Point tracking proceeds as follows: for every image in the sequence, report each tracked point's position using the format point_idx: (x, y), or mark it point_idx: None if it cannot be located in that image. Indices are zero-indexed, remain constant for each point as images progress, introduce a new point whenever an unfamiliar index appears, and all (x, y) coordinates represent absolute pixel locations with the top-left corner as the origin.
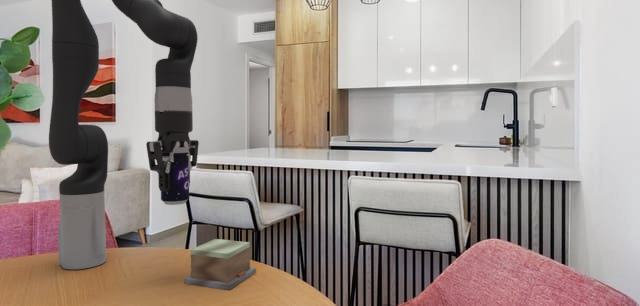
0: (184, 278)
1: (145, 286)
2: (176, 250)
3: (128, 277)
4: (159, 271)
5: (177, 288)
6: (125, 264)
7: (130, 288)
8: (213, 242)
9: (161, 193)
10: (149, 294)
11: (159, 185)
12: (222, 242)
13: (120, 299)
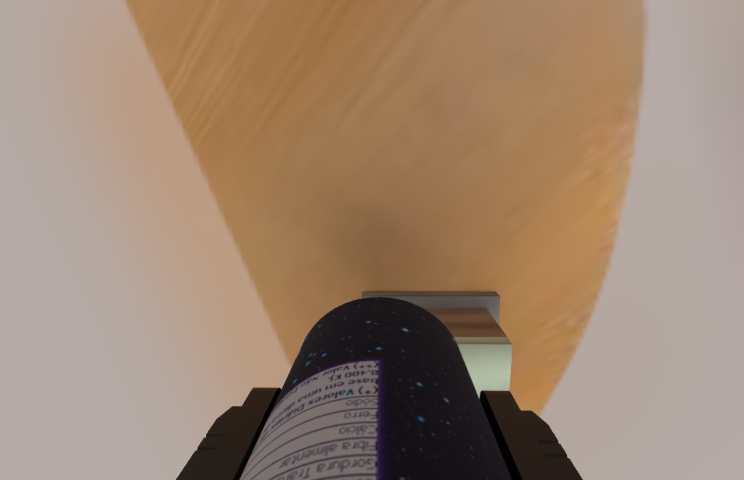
0: (363, 296)
1: (312, 216)
2: (619, 67)
3: (344, 122)
4: (414, 170)
5: (331, 297)
6: (432, 13)
7: (287, 191)
8: (468, 364)
9: (298, 355)
10: (278, 261)
11: (213, 432)
12: (477, 390)
13: (230, 220)
